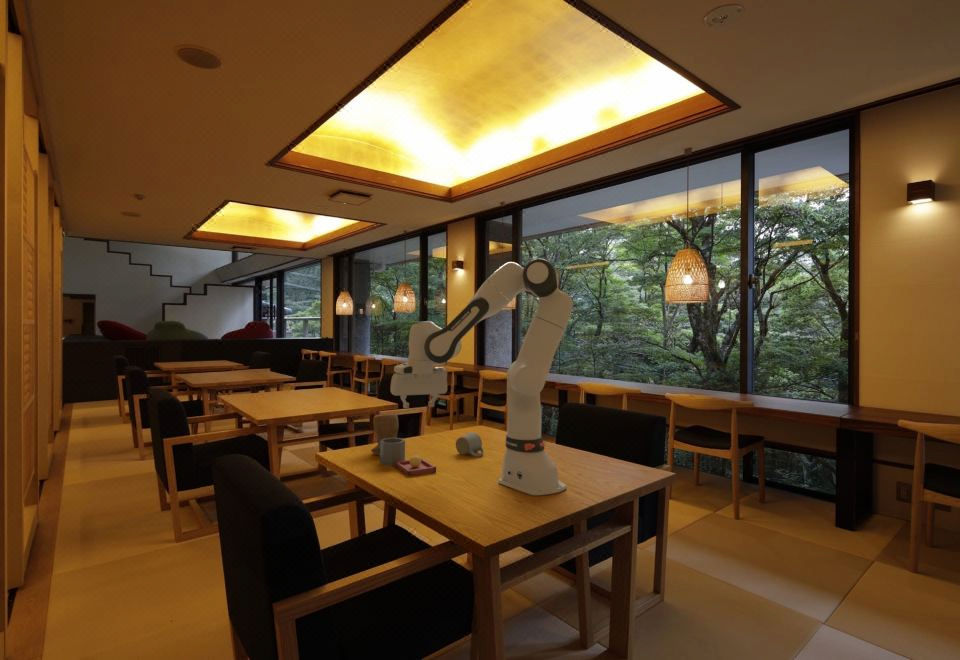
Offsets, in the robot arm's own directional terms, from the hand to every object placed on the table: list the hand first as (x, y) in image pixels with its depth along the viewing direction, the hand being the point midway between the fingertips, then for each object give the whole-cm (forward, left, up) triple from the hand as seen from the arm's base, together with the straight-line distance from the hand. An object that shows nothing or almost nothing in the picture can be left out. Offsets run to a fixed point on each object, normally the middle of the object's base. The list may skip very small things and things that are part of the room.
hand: (418, 407), depth 168 cm
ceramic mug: (+8, -26, -22) cm, 35 cm away
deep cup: (+11, +5, -21) cm, 25 cm away
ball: (-1, +1, -19) cm, 19 cm away
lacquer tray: (-1, +1, -21) cm, 21 cm away
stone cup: (+25, +2, -22) cm, 33 cm away
